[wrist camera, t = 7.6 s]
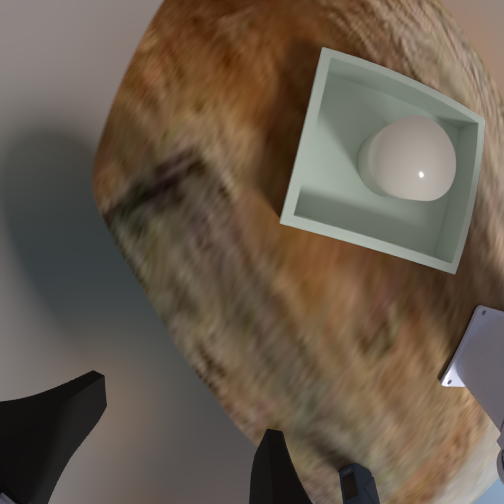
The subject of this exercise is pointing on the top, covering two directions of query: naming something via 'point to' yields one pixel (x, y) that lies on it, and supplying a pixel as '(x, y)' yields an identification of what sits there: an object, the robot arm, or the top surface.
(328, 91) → the bus tub
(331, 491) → the top surface
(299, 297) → the top surface
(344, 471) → the vaping device
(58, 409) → the robot arm
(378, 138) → the white rounded cylinder
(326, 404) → the top surface
